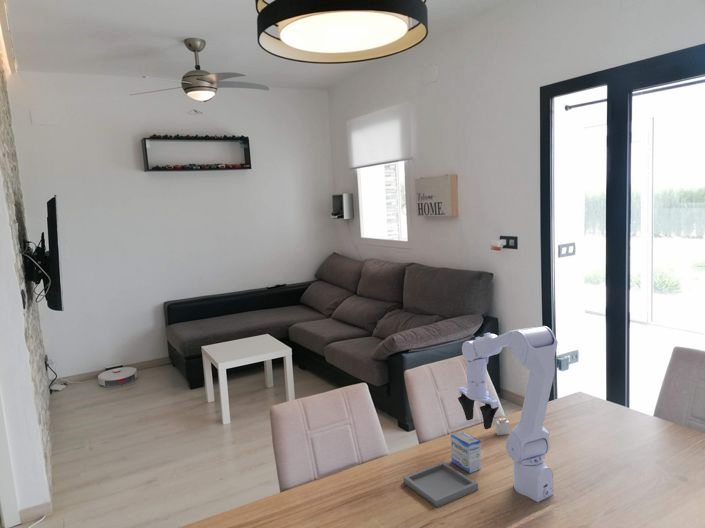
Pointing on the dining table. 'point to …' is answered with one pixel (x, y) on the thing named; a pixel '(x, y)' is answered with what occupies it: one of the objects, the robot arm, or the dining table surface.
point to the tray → (440, 484)
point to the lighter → (502, 426)
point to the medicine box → (465, 451)
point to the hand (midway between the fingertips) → (478, 423)
